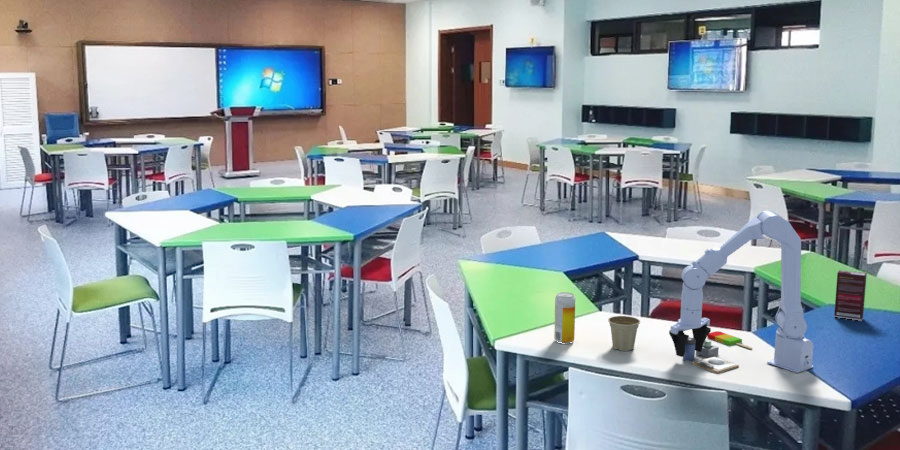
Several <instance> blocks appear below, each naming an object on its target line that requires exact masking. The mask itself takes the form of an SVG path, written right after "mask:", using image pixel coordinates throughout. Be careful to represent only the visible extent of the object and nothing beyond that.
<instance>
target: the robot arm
mask: <svg viewBox="0 0 900 450" xmlns="http://www.w3.org/2000/svg"><path fill="white" fill-rule="evenodd" d="M764 236H766V237H768V239H769V238H770V239H772V240H774V241H776V242H777V243H779V245H780V246H781V247H780V249H781V251H780V253H781V255H780V260H781V261H780V262H781V263H780V265H781V266H780V267H781V268H780V270H781V271H780V294H781V295H780V301H779V303H778V310H777V312H776V314H775V317H774V318H775V322H776V324H777V325H778V327H777V329H776V331H775V341H774V343H775V344H774V353H773V354H774V356H773V359H770V360H767V362H766V363H767V364H768V365H769V364H770V365H773V366H776V367H778V368H781V369H784V370H787V371H791V372H792V373H797V374H798V373H801V372H803V371H806V370H809V369H812V368H814V365H813V357H814V343H813V341H812V340H811V339H808V338H806V336H805V333H807V329H808V325H807V321H806V320H805V318H804V317H805V316H804V309H803V306H802V302H801V301H802V300H801V299H802V297H801V295H802V291H801V290H802V288H801V287H802V284H801V283H802V239H801V237H800V235H798V233H797V232H796V230H795V229H794V227H793V226H792V224H791V222H789V221H788V220H786V219H785V218H784V217H782V216H781V215H779V214H777V213H776V212H774V211H773V210H764V211H761V212H760V213H758V215H757V216H754V217H753V218H751V219H750V220H749V221H748V222H747V223H746V224H745V225H743V226H742V227H741V228H739V230H737V232H736V233H735V234H733V235H732V236H731V237H729V239H727V241H725V243H723V244H722V245H721V246H719V247H711V248H710V249H708V248H706V250H704V254H703V255H701V256H700V257H699V258H698V259H697V260H696V261H695V260H693V261H692V262H691V265H687V266H685V267H684V268H683V270H682V273H681V274H680V276H681V280H682V281H683V282H682V287H681V288H682V290H681V301H680V302H681V303H680V318H679V319H677V322H676V323H675V324H673V325H671V326H670V330H669V332H668V333H669V336H670V338H671V340H672V342H673V346H674V349H675V353H676V356H677V357H681V358H683V356H684V353H685V346H686V342H687V339H688V337H690V335H688V334H685V331H689V330H691V331H692V338H694V339H696V344H695V352H696V351H698V352H701V350H702V348H703V345H704V342H705V340H707V336H708V334H709V333H712V331H711V330H712V329H711V327H710V326H711V325H710V322H711V319H709V318H708V317H702V314H703V299H704V298H703V296H704V295H703V294H704V293H703V287H704V286H705V285H706V281H707V279H708V278H710V277H711V276H713V275H714V274H715V273H716V272H717V271H719V270H720V269H722V268H723V267H724V266H725V265H727V262H728V257H729V256H731V255H732V254H733V253H735V252H736V251H738V250H740V248H742V247H743V246H745V245H746V244H747V243H749V242H750V241H751V240H764V239H765V238H764Z"/></svg>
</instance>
